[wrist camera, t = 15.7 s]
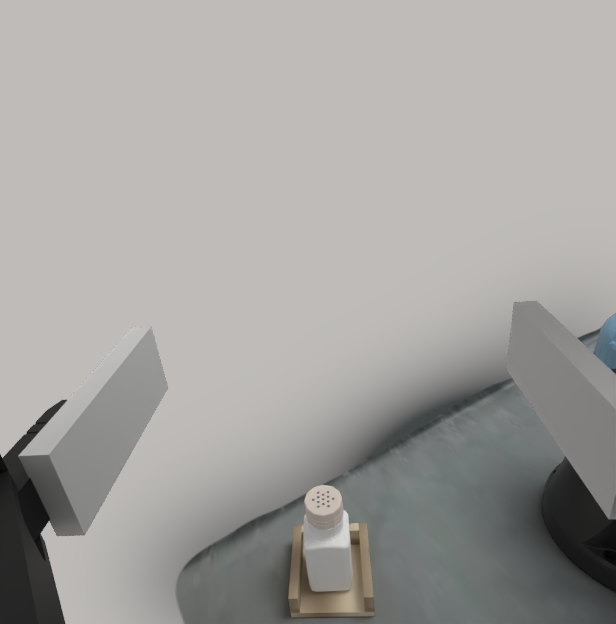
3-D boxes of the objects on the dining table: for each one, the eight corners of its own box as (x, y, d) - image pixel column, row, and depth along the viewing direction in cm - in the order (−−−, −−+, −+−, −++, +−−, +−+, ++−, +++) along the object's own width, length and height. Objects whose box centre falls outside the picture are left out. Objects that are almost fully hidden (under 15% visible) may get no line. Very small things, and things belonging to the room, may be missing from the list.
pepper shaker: (309, 595, 39) (298, 520, 35) (310, 554, 43) (300, 482, 39) (354, 593, 39) (348, 518, 35) (350, 552, 43) (345, 479, 39)
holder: (367, 541, 44) (366, 523, 43) (374, 616, 38) (373, 597, 37) (296, 543, 45) (294, 525, 44) (291, 617, 38) (288, 598, 37)
